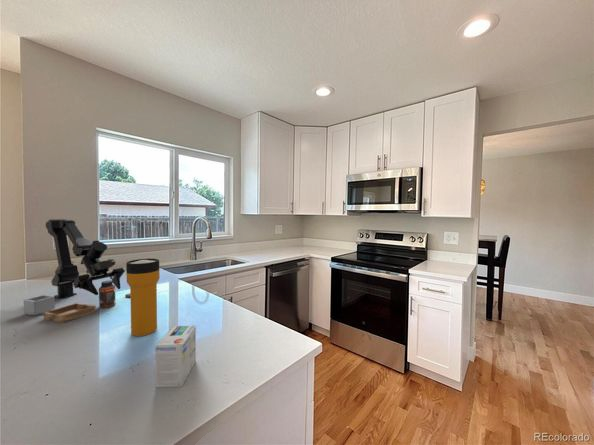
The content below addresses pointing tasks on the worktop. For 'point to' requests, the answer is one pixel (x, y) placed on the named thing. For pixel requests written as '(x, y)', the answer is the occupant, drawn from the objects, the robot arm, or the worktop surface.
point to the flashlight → (143, 295)
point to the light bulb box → (175, 356)
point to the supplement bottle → (107, 294)
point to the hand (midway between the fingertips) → (108, 291)
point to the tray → (69, 312)
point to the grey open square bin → (39, 304)
